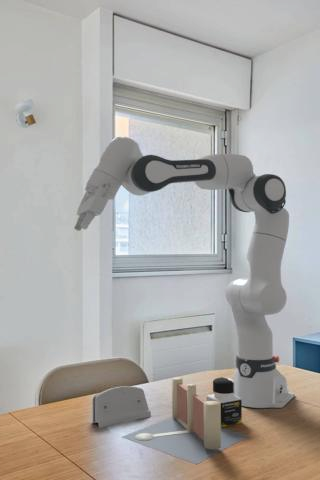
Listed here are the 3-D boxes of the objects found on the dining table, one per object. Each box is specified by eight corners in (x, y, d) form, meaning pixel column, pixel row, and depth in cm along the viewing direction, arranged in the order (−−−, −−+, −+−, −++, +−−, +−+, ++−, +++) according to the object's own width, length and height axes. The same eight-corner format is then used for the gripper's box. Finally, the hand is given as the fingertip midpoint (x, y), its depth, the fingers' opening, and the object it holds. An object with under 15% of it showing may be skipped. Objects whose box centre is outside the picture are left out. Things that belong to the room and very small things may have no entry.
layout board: (176, 416, 138) (176, 414, 138) (248, 437, 122) (248, 435, 122) (121, 438, 122) (121, 436, 122) (196, 466, 106) (196, 463, 106)
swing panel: (188, 431, 123) (187, 392, 123) (202, 429, 124) (202, 390, 124) (208, 450, 111) (207, 406, 111) (223, 448, 112) (223, 405, 112)
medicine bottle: (220, 428, 128) (220, 383, 129) (206, 420, 135) (206, 377, 135) (242, 424, 131) (241, 380, 132) (227, 416, 138) (226, 374, 138)
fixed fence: (170, 416, 137) (170, 374, 137) (180, 415, 138) (180, 373, 138) (188, 433, 124) (187, 386, 124) (198, 431, 125) (198, 385, 125)
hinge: (98, 428, 129) (93, 390, 132) (92, 429, 133) (88, 391, 136) (152, 417, 137) (147, 381, 140) (145, 418, 141) (140, 383, 144)
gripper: (121, 187, 128) (97, 233, 125) (103, 196, 147) (82, 235, 144) (101, 175, 126) (76, 221, 123) (86, 185, 145) (64, 225, 143)
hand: (79, 229), depth 134 cm, fingers open, 8 cm apart
